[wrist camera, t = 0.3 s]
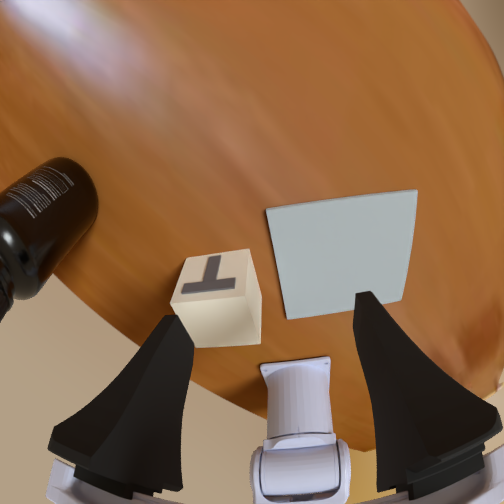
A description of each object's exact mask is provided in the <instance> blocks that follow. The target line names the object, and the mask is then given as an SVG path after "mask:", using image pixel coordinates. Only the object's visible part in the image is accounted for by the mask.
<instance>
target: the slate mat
mask: <svg viewBox="0 0 504 504" xmlns="http://www.w3.org/2000/svg"><path fill="white" fill-rule="evenodd" d="M417 193H418V191H417V190H416V189H414V190H403V191H394V192H384V193H376V194H367V195H359V196H351V197H343V198H335V199H328V200H320V201H313V202H306V203H299V204H293V205H286V206H280V207H273V208H267V209H266V213H267V218H268V223H269V228H270V233H271V237H272V242H273V247H274V252H275V258H276V263H277V268H278V273H279V278H280V283H281V289H282V294H283V299H284V304H285V310H286V315H287V320H288V319H296V318H303V317H310V316H317V315H324V314H330V313H337V312H343V311H349V310H354V306H355V293H360V292H365V291H371V292H373V294H374V295H375V296H376V298H377V299H378V300H379V302H380V303H381V304H386V303H391V302H396V301H400V300H401V299H402V294H403V290H404V285H405V281H406V276H407V270H408V265H409V259H410V253H411V247H412V240H413V233H414V225H415V216H416V206H417Z"/></svg>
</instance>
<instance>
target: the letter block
mask: <svg viewBox="0 0 504 504" xmlns="http://www.w3.org/2000/svg"><path fill="white" fill-rule="evenodd" d="M170 305H171V306H172V308H173V310H174V312H175V313H176V315H178V316H179V318H180V320H181V322H182V323H183V325H184V327H185V329H186V330H187V332H188V334H189V335H190V337H191V339H192V340H193V342H194V345H195V347H196V348H204V347H224V346H240V345H252V344H261V307H262V296H261V292H260V288H259V284H258V280H257V276H256V273H255V269H254V265H253V261H252V257H251V254H250V250H249V249H243V250H236V251H230V252H223V253H216V254H210V255H203V256H197V257H190V258H186V261H185V263H184V266H183V269H182V271H181V274H180V277H179V279H178V282H177V285H176V288H175V290H174V293H173V296H172V299H171V302H170Z"/></svg>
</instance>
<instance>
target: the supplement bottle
mask: <svg viewBox="0 0 504 504" xmlns="http://www.w3.org/2000/svg"><path fill="white" fill-rule="evenodd" d="M97 209H98V199H97V193H96V189H95V186H94V184H93V181H92V179H91V178H90V176H89V175H88V173H87V172H86V171H85V169H84V168H83V167H82V166H81V165H79V164H78V163H77V162H75V161H73V160H71V159H68V158H64V157H57V158H53V159H50V160H48V161H46V162H45V163H43V164H41V165H40V166H38V167H36V168H35V169H33V170H32V171H30V172H29V173H27V174H26V175H24V176H23V177H21V178H20V179H19V180H17V181H16V182H14V183H13V184H12V185H10V186H9V187H7V188H6V189H5V190H3V191H2V192H1V193H0V322H1V320H2V319H3V317H4V316H5V314H6V312H7V311H9V310H10V309H11V307H12V305H13V302H14V301H13V298H14V299H17V300H26V299H30V298H32V297H34V296H35V295H36V294H37V293H38V292H39V291H40V289H41V288H42V287H43V286H44V284H45V283H46V282H47V280H48V279H49V277H50V276H51V275H52V273H53V272H54V271H55V269H56V268H57V267H58V265H59V264H60V263H61V262H62V260H63V259H64V258H65V256H66V255H67V254H68V253H69V251H70V250H71V249H72V248H73V247H74V245H75V244H76V243H77V242H78V241H79V239H80V238H81V237H82V236H83V235H84V234H85V232H86V231H87V230H88V229H89V228H90V226H91V225H92V224H93V222H94V220H95V217H96V214H97Z"/></svg>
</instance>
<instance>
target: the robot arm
mask: <svg viewBox="0 0 504 504" xmlns="http://www.w3.org/2000/svg"><path fill="white" fill-rule="evenodd" d="M353 331H354V337H355V342H356V347H357V351H358V355H359V358H360V362H361V365H362V369H363V372H364V376H365V379H366V383H367V386H368V390H369V394H370V398H371V403H372V410H373V418H374V427H375V438H376V454H377V455H376V456H377V492H382V491H386V490H390V489H394V488H396V494H393V495H389V496H386V497H382V498H378V499H374V500H370V501H365V502H361V503H356V504H499V503H501V502H502V501H503V500H504V444H503V445H501V446H499V447H498V448H496V449H494V450H493V451H491V452H489V453H487V454H485V455H482V451H484V450H485V445H484V442H485V441H487V440H489V439H490V438H492V437H493V436H495V435H496V434H498V433H499V432H501V431H502V429H503V426H502V422H501V418H500V415H499V413H498V410H497V408H496V407H494V406H493V405H491V404H489V403H487V402H486V401H484V400H482V399H481V398H479V397H478V396H476V395H474V394H473V393H472V392H470V391H469V390H467V389H466V388H464V387H463V386H462V385H460V384H459V383H458V382H457V381H455V380H454V379H453V378H451V377H450V376H449V375H448V374H446V373H445V372H444V371H443V370H442V369H441V368H439V367H438V366H437V365H436V364H435V363H434V362H433V361H432V360H431V359H430V358H428V357H427V356H426V355H425V354H424V353H423V352H422V351H421V350H420V349H419V347H418V346H417V345H416V344H415V343H414V342H413V341H412V340H411V339H410V338H409V337H408V336H407V334H406V333H405V332H404V331H403V330H402V329H401V328H400V326H399V325H398V324H397V323H396V322H395V321H394V319H393V318H392V317H391V316H390V314H389V313H388V312H387V311H386V309H385V308H384V307H383V306H382V304H381V303H380V302H379V300H378V299H377V298H376V296H375V295H374V294H373V292H371V291H365V292H360V293H355V306H354V318H353ZM193 356H194V342H193V340H192V339H191V337H190V335H189V334H188V332H187V330H186V329H185V327H184V325H183V323H182V322H181V320H180V318H179V316H178V315H165V316H164V317H163V318H162V320H161V321H160V322H159V324H158V325H157V326H156V328H155V329H154V330H153V332H152V333H151V334H150V336H149V337H148V338H147V340H146V341H145V342H144V344H143V345H142V346H141V348H140V349H139V350H138V352H137V353H136V354H135V355H134V357H133V358H132V359H131V360H130V362H129V363H128V364H127V365H126V367H125V368H124V369H123V370H122V371H121V372H120V374H119V375H118V376H117V377H116V378H115V379H114V380H113V381H112V382H111V383H110V384H109V385H108V387H106V388H105V389H104V390H103V391H102V392H101V393H100V394H99V395H98V396H97V397H95V398H94V399H93V400H92V401H91V402H90V403H89V404H88V405H86V406H85V407H84V408H82V409H81V410H80V411H78V412H77V413H76V414H74V415H73V416H71V417H70V418H68V419H66V420H65V421H63V422H61V423H60V424H58V425H56V426H54V429H53V432H52V434H51V438H50V441H49V445H48V450H49V451H51V452H52V453H54V454H56V455H58V456H60V457H62V458H64V459H66V460H68V461H70V462H72V463H74V464H76V467H75V468H74V467H72V466H70V465H68V464H66V463H64V462H62V461H60V460H58V459H54V463H53V466H52V470H51V474H50V478H49V483H48V487H47V491H46V497H47V498H48V499H50V500H51V501H52V502H54V503H55V504H182V503H178V502H173V501H168V500H164V499H160V498H156V497H153V493H154V492H157V493H162V489H166V490H170V491H175V492H178V491H180V490H181V489H182V488H183V484H182V473H181V429H182V416H183V409H184V403H185V399H186V394H187V390H188V385H189V380H190V376H191V371H192V366H193ZM260 370H261V372H262V375H263V377H264V380H265V383H266V385H267V388H268V419H267V423H268V424H267V440H263V446H259V447H258V448H257V449H256V450H255V451H254V452H253V454H252V457H251V462H250V484H251V488H252V491H253V503H254V504H344V503H345V502H346V501H347V498H348V497H349V484H350V478H351V464H350V455H349V449H348V445H347V443H346V442H344V441H343V440H342V439H338V440H336V435H335V433H333V426H332V416H331V407H330V398H329V380H330V357H320V358H313V359H305V360H297V361H288V362H279V363H268V364H261V365H260ZM319 492H322V493H319ZM310 493H313V494H310ZM298 494H302V495H298ZM283 495H284V496H283Z"/></svg>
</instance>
